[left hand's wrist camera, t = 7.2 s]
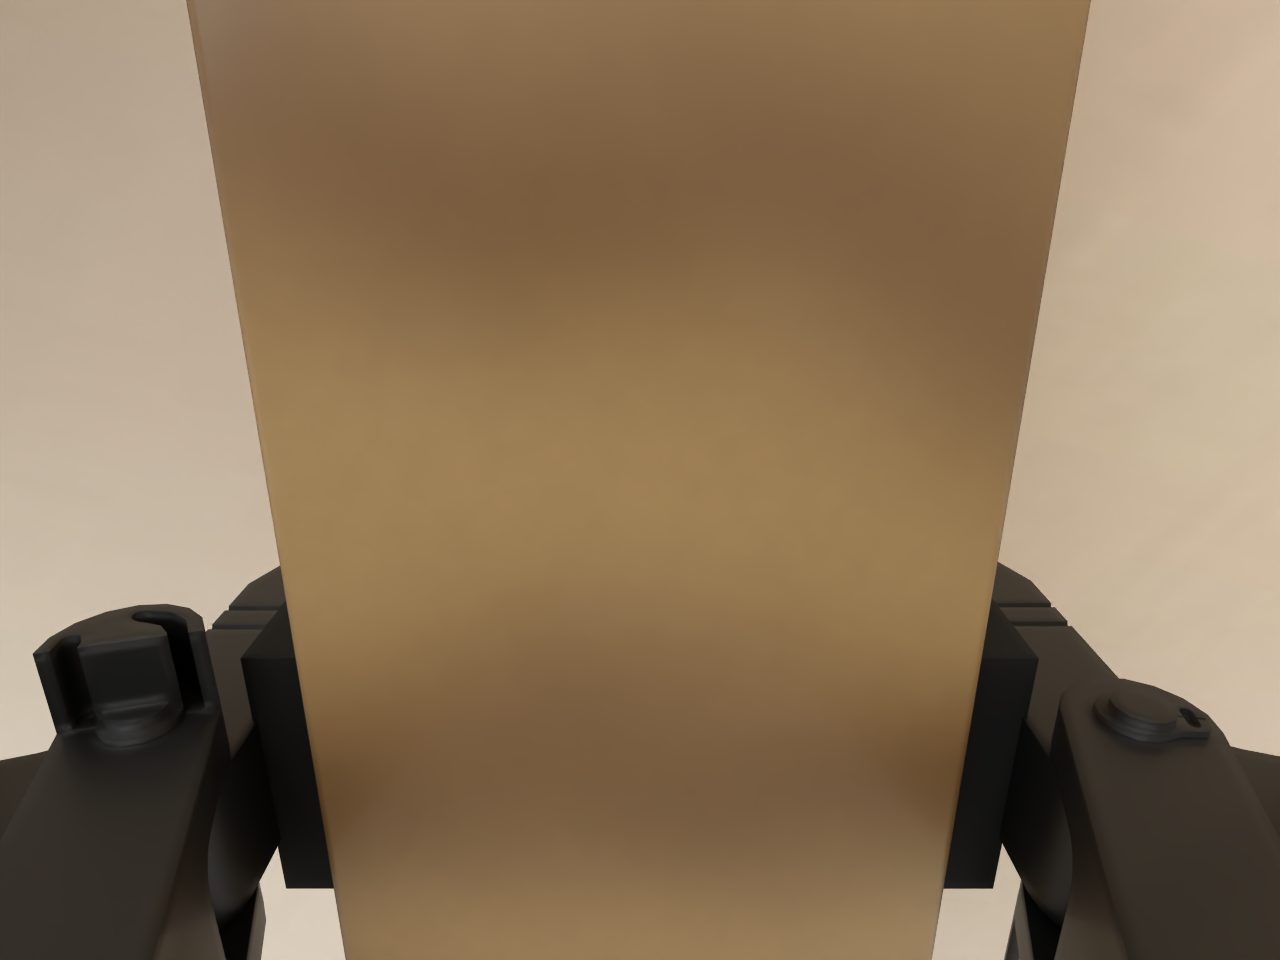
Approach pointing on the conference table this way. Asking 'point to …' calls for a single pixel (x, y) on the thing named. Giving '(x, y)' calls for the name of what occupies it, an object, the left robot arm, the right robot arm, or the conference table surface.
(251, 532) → the conference table surface
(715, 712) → the beam
